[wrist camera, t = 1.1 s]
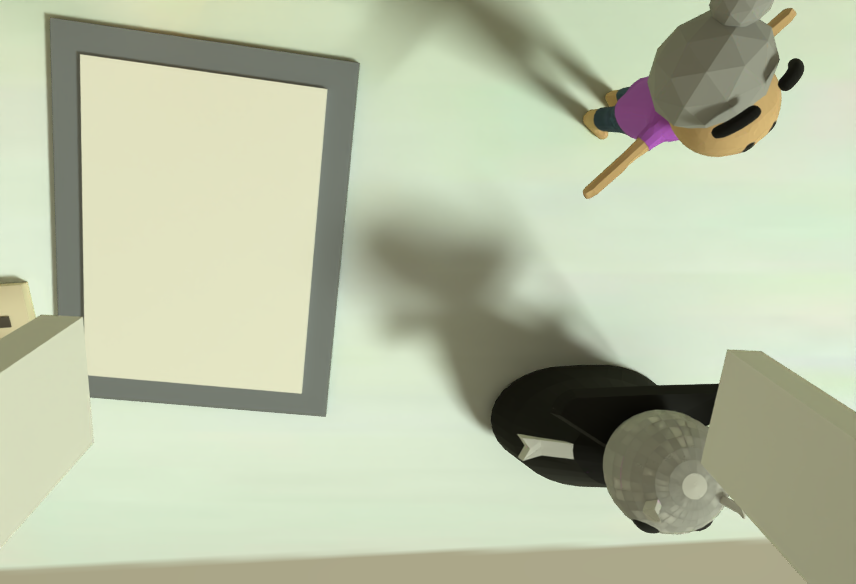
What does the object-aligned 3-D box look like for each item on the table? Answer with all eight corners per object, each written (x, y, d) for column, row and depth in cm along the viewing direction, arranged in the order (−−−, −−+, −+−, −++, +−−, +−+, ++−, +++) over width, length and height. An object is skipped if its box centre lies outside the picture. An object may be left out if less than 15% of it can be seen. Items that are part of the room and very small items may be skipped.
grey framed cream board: (54, 18, 30) (46, 16, 29) (359, 63, 31) (359, 62, 31) (63, 391, 35) (57, 397, 34) (326, 413, 36) (325, 419, 36)
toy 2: (489, 477, 37) (560, 583, 22) (486, 366, 38) (553, 397, 23) (673, 469, 38) (860, 565, 23) (669, 360, 39) (850, 387, 24)
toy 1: (549, 201, 34) (674, 257, 20) (485, 126, 33) (569, 127, 18) (696, 68, 33) (944, 25, 18) (635, -15, 31) (853, -133, 17)
